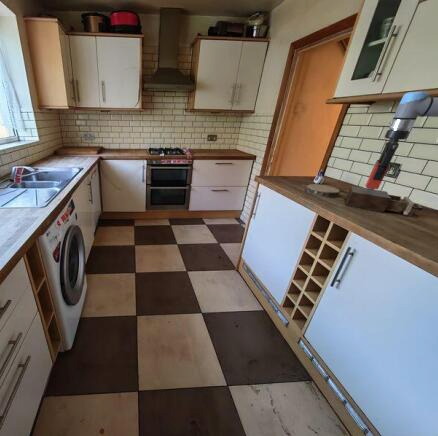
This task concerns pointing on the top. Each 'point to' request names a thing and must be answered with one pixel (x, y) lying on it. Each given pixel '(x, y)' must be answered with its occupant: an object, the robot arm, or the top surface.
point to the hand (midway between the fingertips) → (375, 178)
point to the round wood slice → (322, 190)
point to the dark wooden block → (367, 199)
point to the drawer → (401, 205)
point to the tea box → (375, 183)
